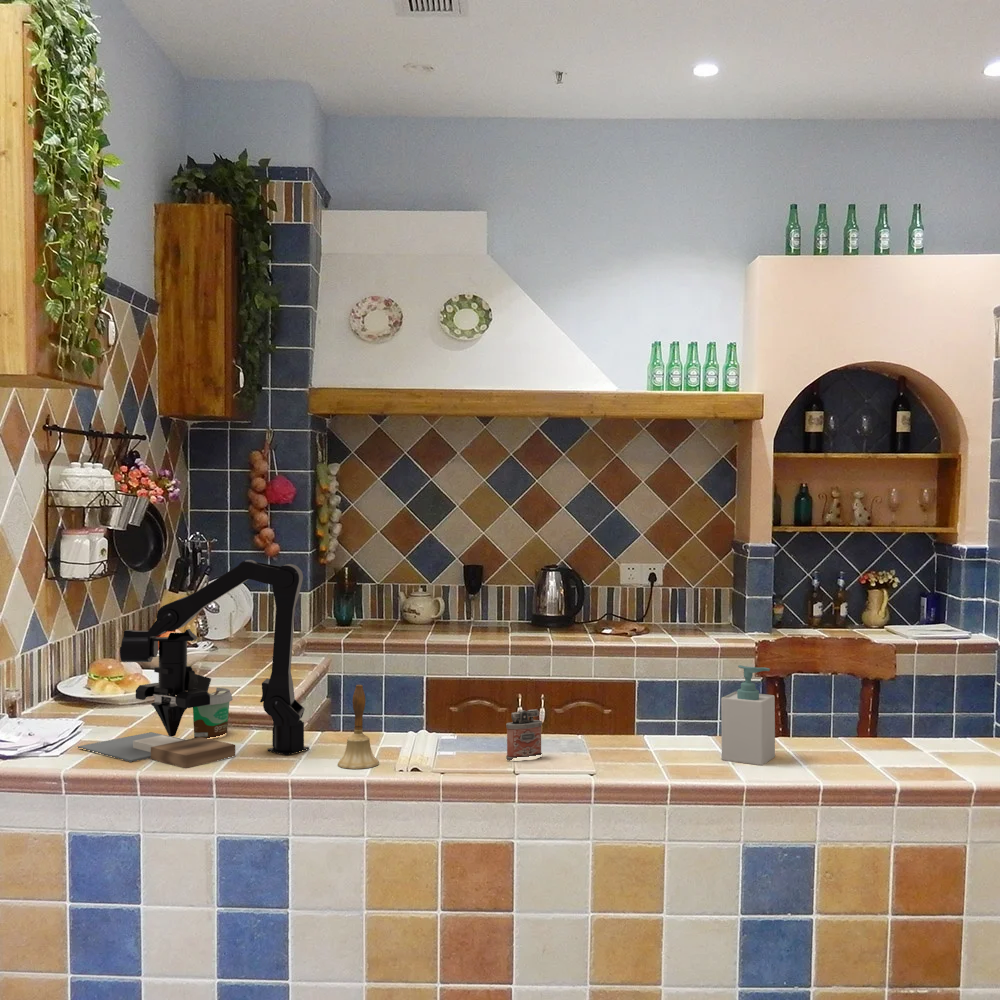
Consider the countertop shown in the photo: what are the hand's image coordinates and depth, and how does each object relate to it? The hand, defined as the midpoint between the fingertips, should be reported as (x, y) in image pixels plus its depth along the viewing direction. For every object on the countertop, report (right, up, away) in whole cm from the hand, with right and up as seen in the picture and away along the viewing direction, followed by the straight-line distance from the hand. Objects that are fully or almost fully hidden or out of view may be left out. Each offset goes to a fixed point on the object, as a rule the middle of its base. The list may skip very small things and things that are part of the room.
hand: (172, 736), depth 210 cm
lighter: (+74, -4, -5) cm, 75 cm away
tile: (-3, -3, +2) cm, 5 cm away
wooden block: (+6, -4, -4) cm, 8 cm away
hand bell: (+41, -4, -10) cm, 42 cm away
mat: (-8, -4, +5) cm, 10 cm away
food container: (+5, -4, +17) cm, 18 cm away
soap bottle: (+121, -4, -5) cm, 121 cm away
